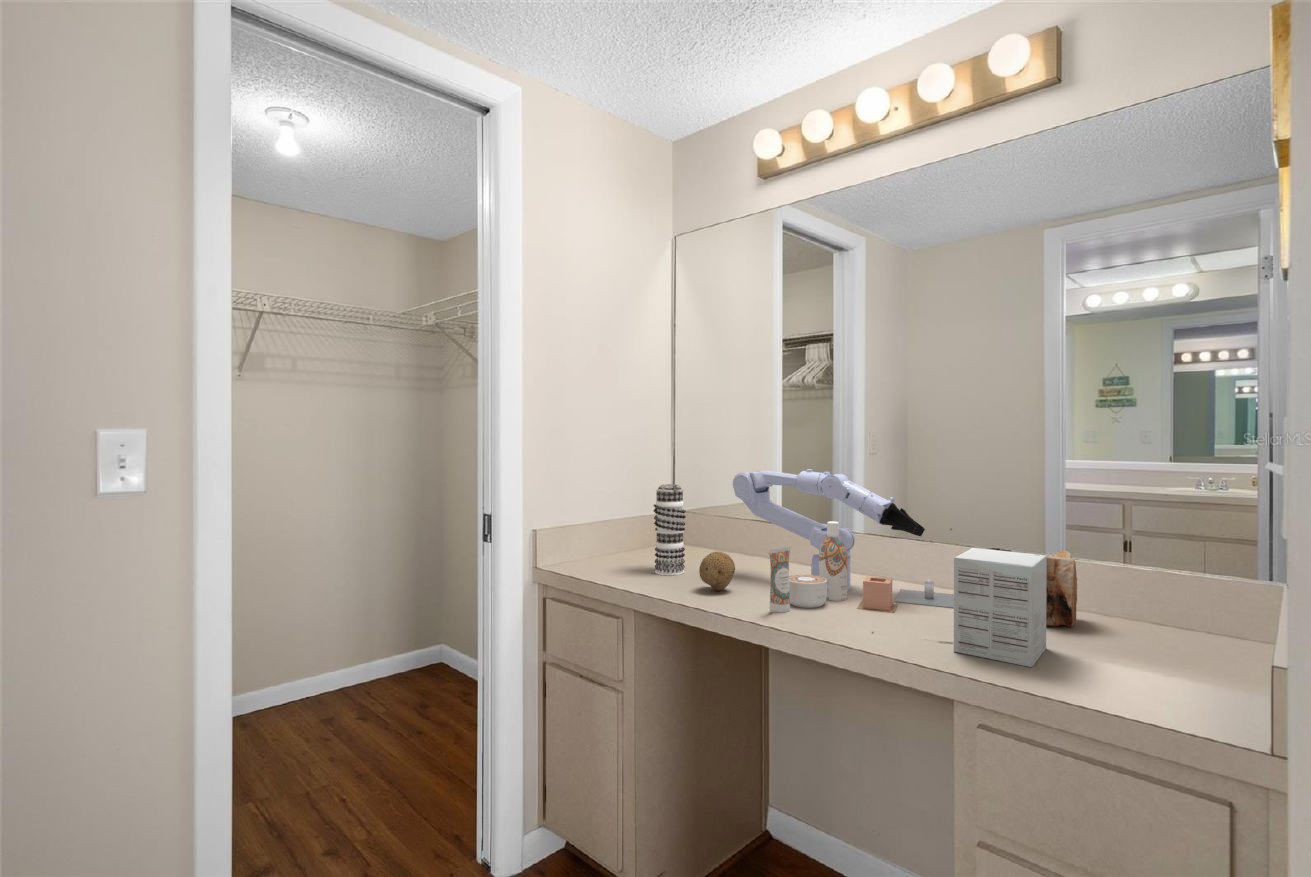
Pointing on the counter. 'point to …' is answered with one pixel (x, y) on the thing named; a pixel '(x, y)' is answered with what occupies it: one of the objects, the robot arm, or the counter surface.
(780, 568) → the cosmetic set
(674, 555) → the decorative candle
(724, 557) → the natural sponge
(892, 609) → the walnut stand
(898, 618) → the counter surface
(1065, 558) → the stone
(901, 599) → the board
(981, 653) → the supplement box
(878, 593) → the terracotta collar
